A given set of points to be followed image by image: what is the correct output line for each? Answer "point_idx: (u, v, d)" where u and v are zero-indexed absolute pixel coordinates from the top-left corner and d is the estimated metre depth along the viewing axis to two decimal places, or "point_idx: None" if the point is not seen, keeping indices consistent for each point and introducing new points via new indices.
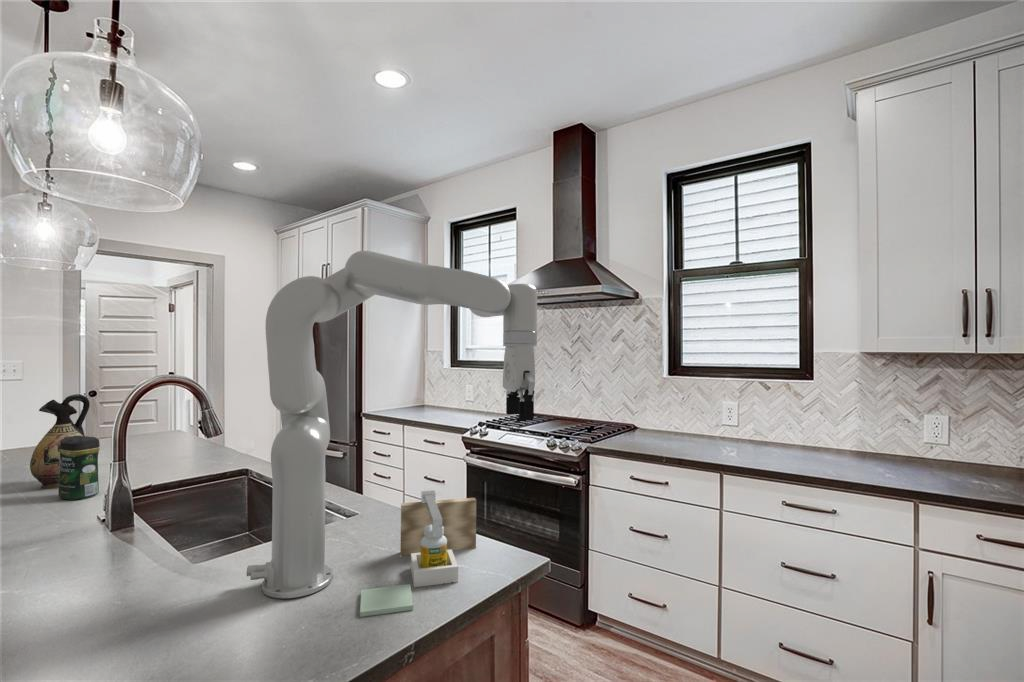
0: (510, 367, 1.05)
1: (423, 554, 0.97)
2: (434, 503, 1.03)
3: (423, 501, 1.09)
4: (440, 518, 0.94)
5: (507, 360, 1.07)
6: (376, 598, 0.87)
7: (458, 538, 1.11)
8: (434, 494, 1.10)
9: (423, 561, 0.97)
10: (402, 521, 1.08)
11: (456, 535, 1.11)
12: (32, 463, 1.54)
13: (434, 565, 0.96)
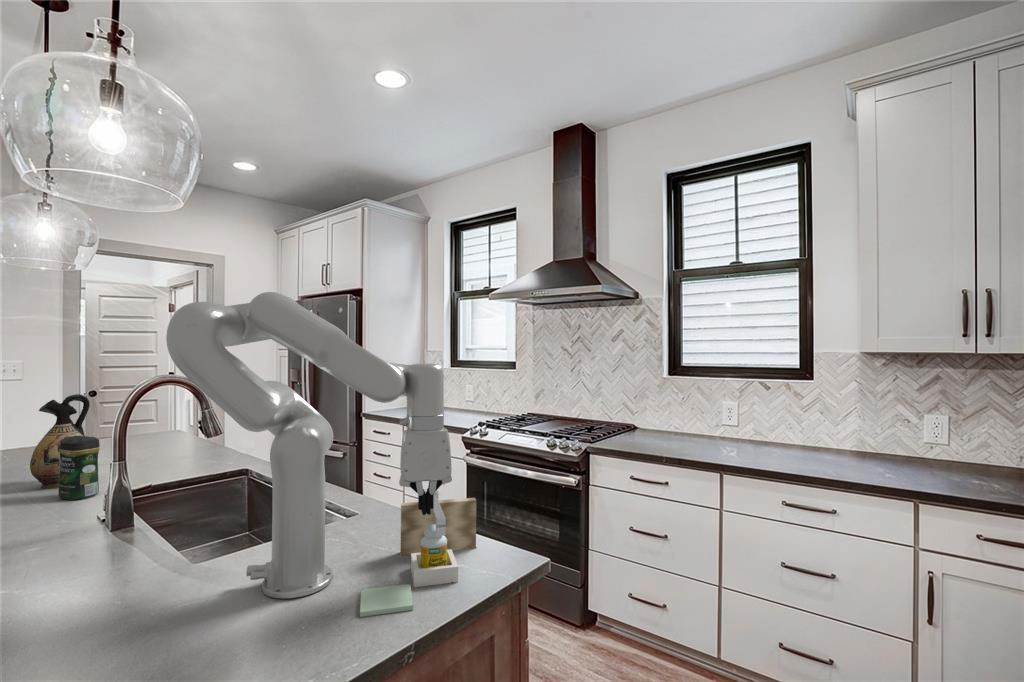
0: (437, 454, 0.98)
1: (423, 554, 0.97)
2: (437, 503, 1.03)
3: None
4: (443, 518, 0.94)
5: (426, 448, 0.97)
6: (376, 598, 0.87)
7: (458, 538, 1.11)
8: (437, 494, 1.10)
9: (423, 561, 0.97)
10: (402, 521, 1.08)
11: (456, 535, 1.11)
12: (32, 463, 1.54)
13: (434, 565, 0.96)
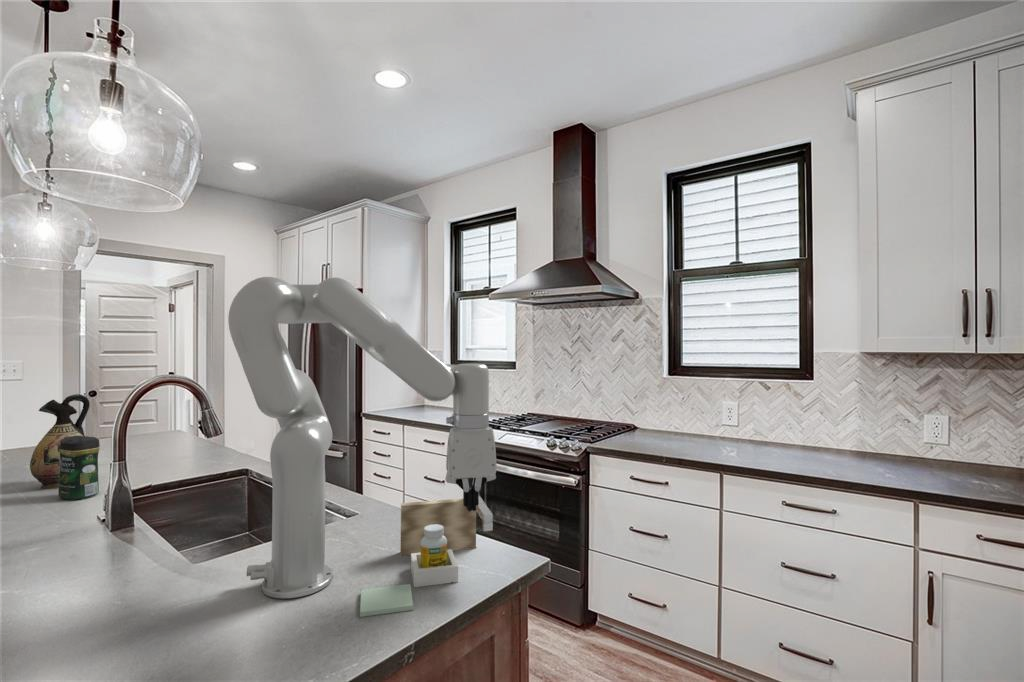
0: (483, 452, 1.00)
1: (423, 554, 0.97)
2: (480, 499, 1.06)
3: None
4: (490, 514, 0.97)
5: (473, 446, 0.99)
6: (376, 598, 0.87)
7: (458, 538, 1.11)
8: None
9: (423, 561, 0.97)
10: (402, 521, 1.08)
11: (456, 535, 1.11)
12: (32, 463, 1.54)
13: (434, 565, 0.96)
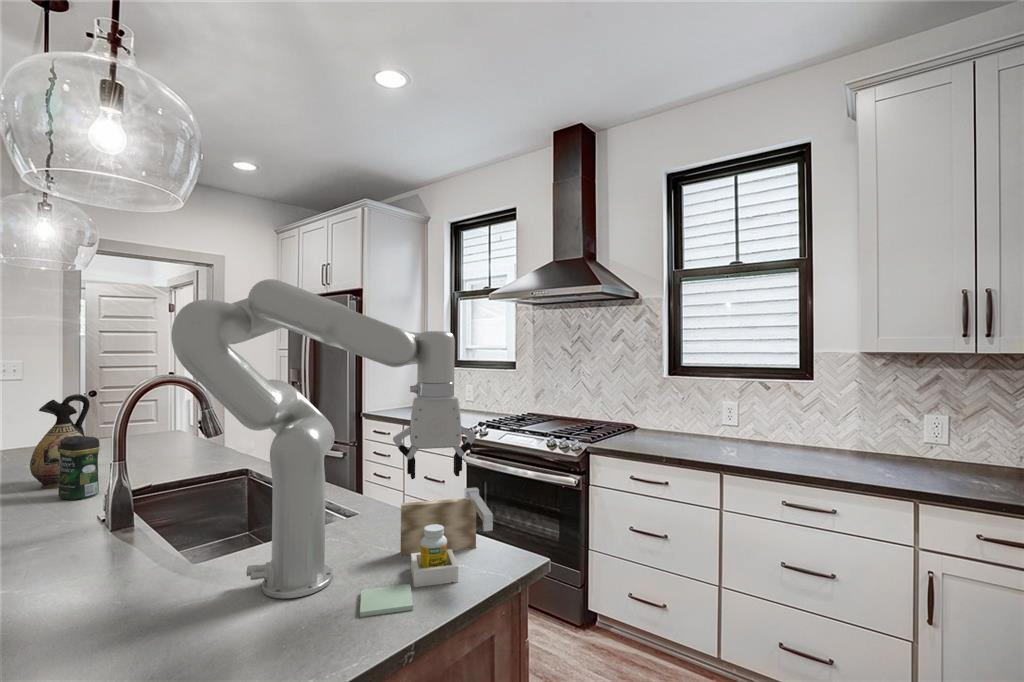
0: (447, 422, 0.97)
1: (423, 554, 0.97)
2: (480, 499, 1.06)
3: (467, 498, 1.12)
4: (490, 514, 0.97)
5: (436, 415, 0.97)
6: (376, 598, 0.87)
7: (458, 538, 1.11)
8: (478, 491, 1.12)
9: (423, 561, 0.97)
10: (402, 521, 1.08)
11: (456, 535, 1.11)
12: (32, 463, 1.54)
13: (434, 565, 0.96)
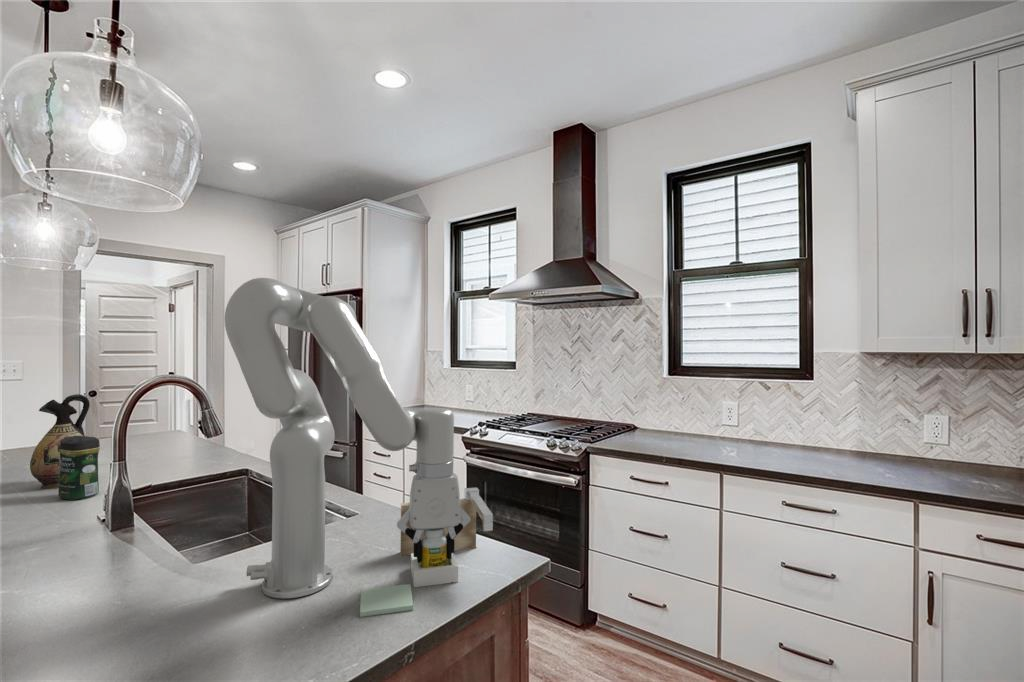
0: (446, 502, 0.97)
1: (423, 554, 0.97)
2: (480, 499, 1.06)
3: (467, 498, 1.12)
4: (490, 514, 0.97)
5: (435, 495, 0.96)
6: (376, 598, 0.87)
7: (458, 538, 1.11)
8: (478, 491, 1.12)
9: (423, 560, 0.97)
10: None
11: None
12: (32, 463, 1.54)
13: (434, 565, 0.96)
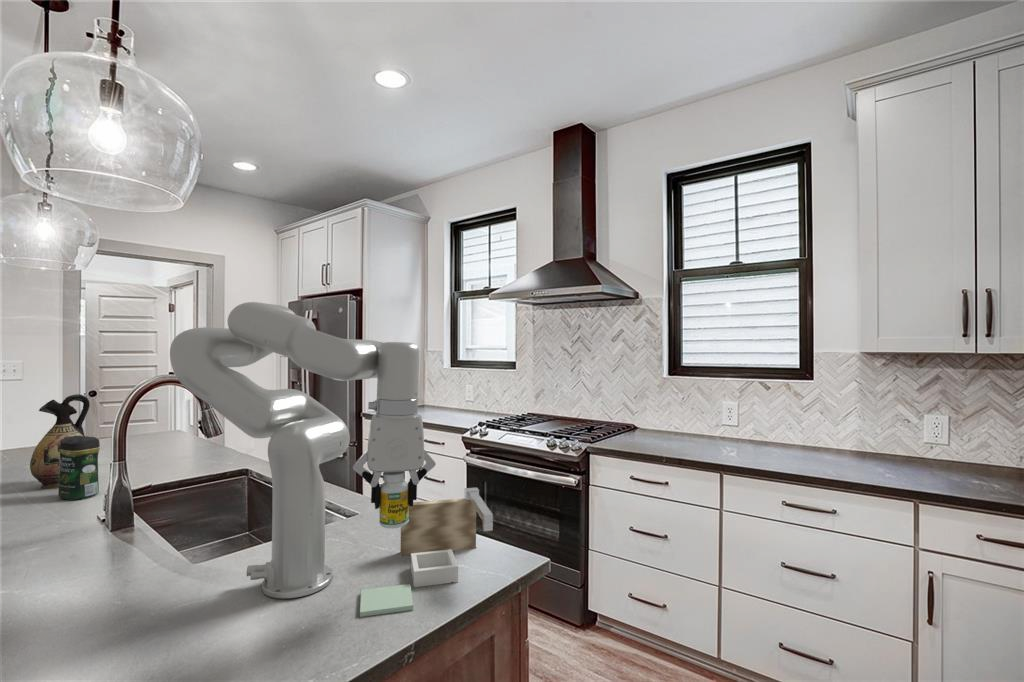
0: (409, 442, 0.88)
1: (382, 501, 0.88)
2: (480, 499, 1.06)
3: (467, 498, 1.12)
4: (490, 514, 0.97)
5: (397, 435, 0.88)
6: (376, 598, 0.87)
7: (458, 538, 1.11)
8: (478, 491, 1.12)
9: (381, 508, 0.88)
10: None
11: (456, 535, 1.11)
12: (32, 463, 1.54)
13: (394, 512, 0.88)
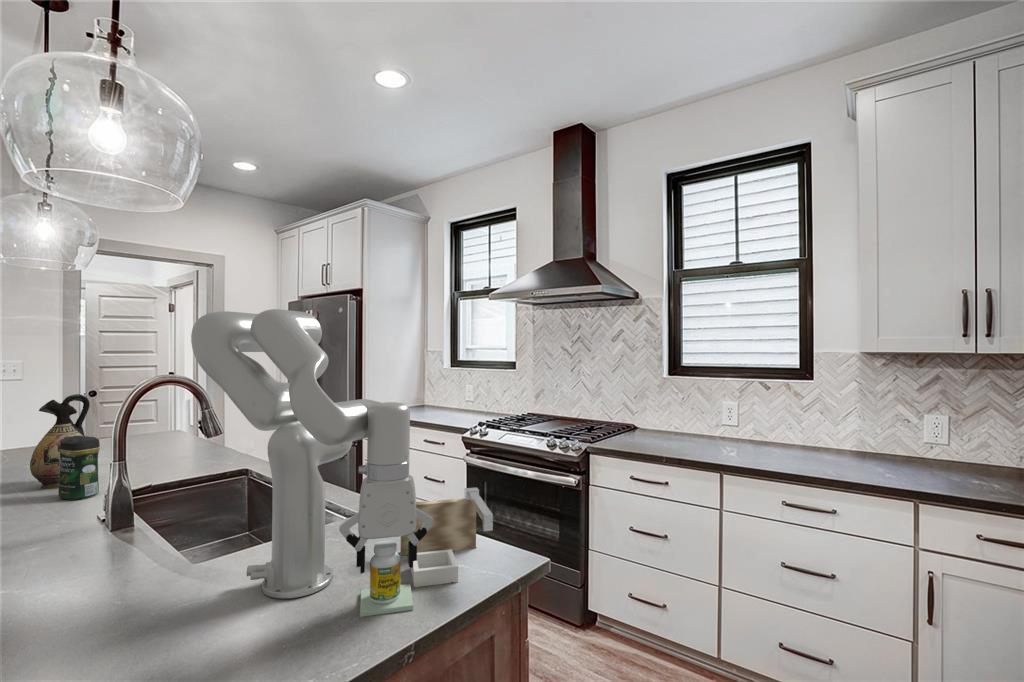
0: (400, 507, 0.86)
1: (372, 575, 0.86)
2: (480, 499, 1.06)
3: (467, 498, 1.12)
4: (490, 514, 0.97)
5: (387, 500, 0.86)
6: None
7: (458, 538, 1.11)
8: (478, 491, 1.12)
9: (372, 582, 0.86)
10: None
11: (456, 535, 1.11)
12: (32, 463, 1.54)
13: (384, 587, 0.85)
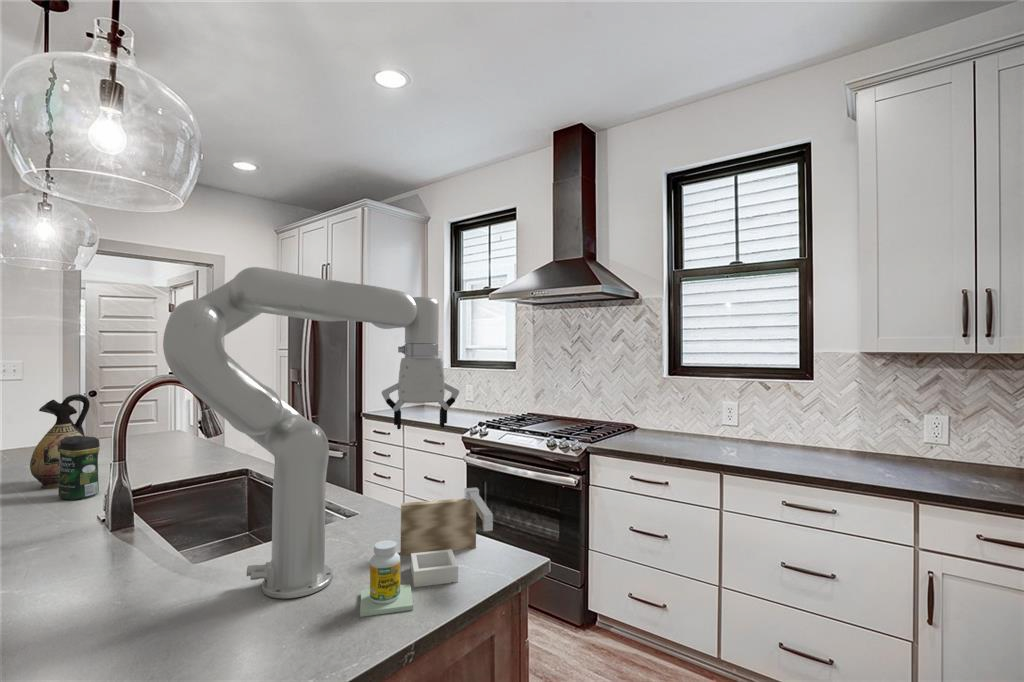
0: (432, 379, 1.07)
1: (372, 575, 0.86)
2: (480, 499, 1.06)
3: (467, 498, 1.12)
4: (490, 514, 0.97)
5: (422, 372, 1.07)
6: None
7: (458, 538, 1.11)
8: (478, 491, 1.12)
9: (372, 582, 0.86)
10: (402, 521, 1.08)
11: (456, 535, 1.11)
12: (32, 463, 1.54)
13: (384, 587, 0.85)
